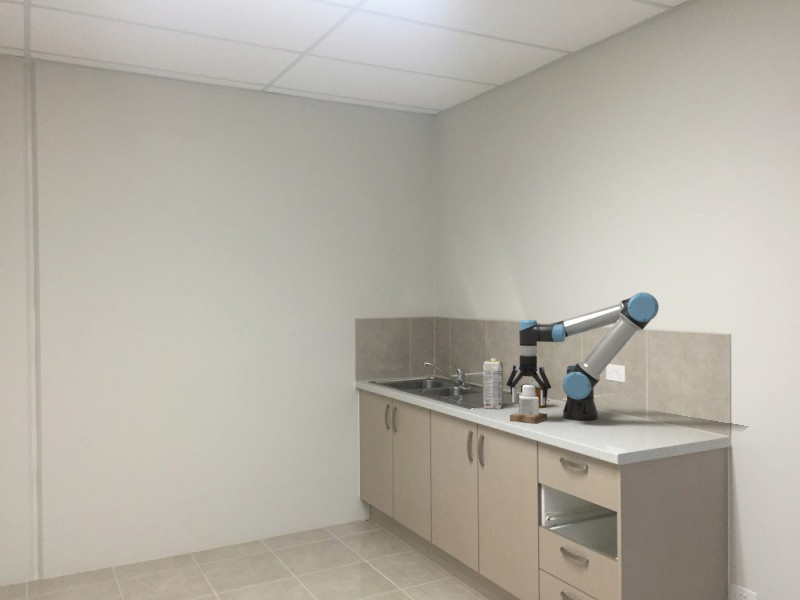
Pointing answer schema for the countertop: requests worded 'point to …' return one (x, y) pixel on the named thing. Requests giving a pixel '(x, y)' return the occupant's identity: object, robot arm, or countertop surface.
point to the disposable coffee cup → (539, 393)
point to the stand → (528, 418)
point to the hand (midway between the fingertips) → (528, 403)
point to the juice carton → (493, 384)
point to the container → (528, 400)
